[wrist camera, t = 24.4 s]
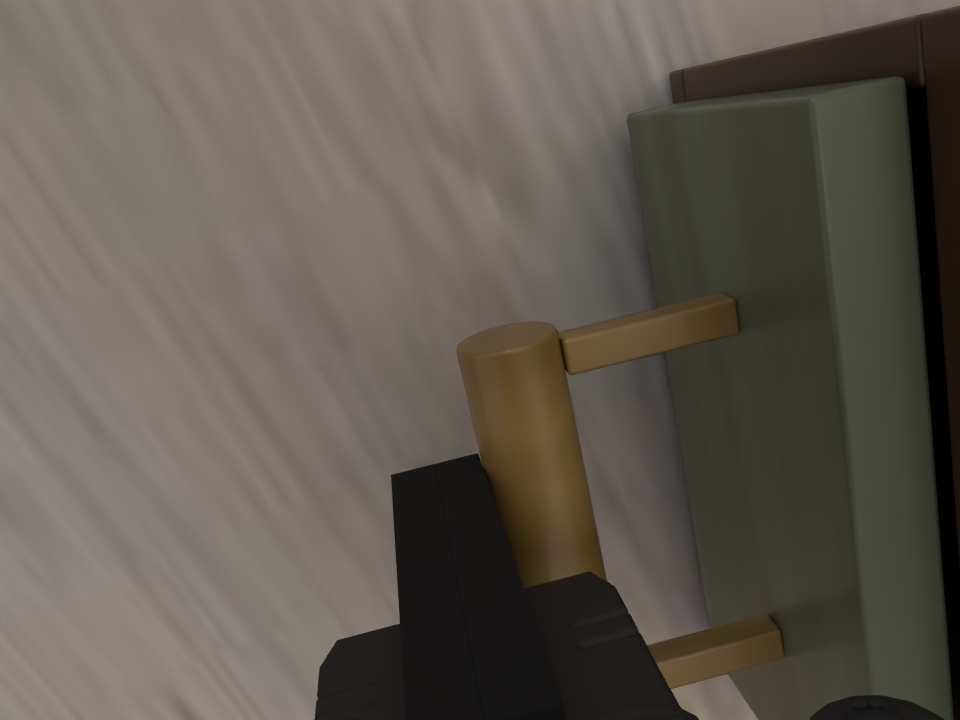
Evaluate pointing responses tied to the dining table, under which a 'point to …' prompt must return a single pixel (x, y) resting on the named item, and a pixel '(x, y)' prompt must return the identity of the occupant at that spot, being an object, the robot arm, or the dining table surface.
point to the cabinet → (923, 64)
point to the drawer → (769, 398)
